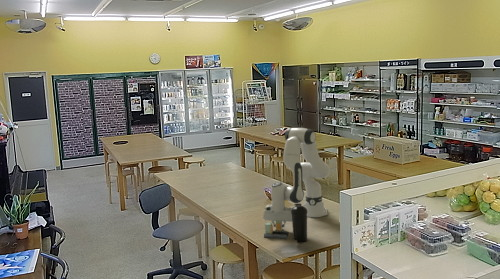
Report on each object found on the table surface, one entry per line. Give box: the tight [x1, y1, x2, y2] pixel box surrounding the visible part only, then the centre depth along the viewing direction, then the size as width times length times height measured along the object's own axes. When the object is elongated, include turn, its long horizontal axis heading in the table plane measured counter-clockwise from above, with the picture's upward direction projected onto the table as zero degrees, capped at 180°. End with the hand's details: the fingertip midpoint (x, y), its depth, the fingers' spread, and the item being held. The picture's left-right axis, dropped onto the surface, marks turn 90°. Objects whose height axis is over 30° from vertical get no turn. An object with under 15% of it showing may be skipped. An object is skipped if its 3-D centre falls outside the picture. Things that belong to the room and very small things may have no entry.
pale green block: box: [275, 221, 284, 231], centre depth 291 cm, size 4×4×8 cm
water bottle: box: [291, 203, 308, 244], centre depth 272 cm, size 10×10×23 cm
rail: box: [263, 230, 290, 241], centre depth 281 cm, size 10×15×3 cm, turn 71°
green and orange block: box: [264, 222, 274, 234], centre depth 282 cm, size 4×4×8 cm
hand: (279, 226), depth 291 cm, fingers open, 5 cm apart
